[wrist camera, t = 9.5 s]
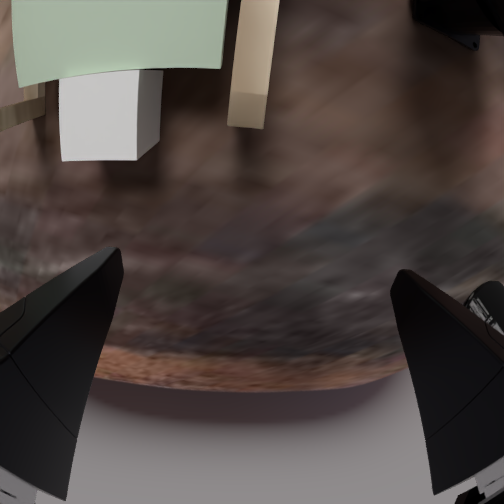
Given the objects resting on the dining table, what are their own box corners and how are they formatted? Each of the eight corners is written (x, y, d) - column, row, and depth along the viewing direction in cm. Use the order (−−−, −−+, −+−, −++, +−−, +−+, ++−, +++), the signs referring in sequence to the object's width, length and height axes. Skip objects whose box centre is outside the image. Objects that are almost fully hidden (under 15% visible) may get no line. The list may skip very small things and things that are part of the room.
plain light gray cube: (139, 69, 12) (136, 160, 15) (163, 70, 16) (159, 140, 19) (59, 79, 12) (61, 161, 14) (96, 75, 16) (96, 141, 19)
